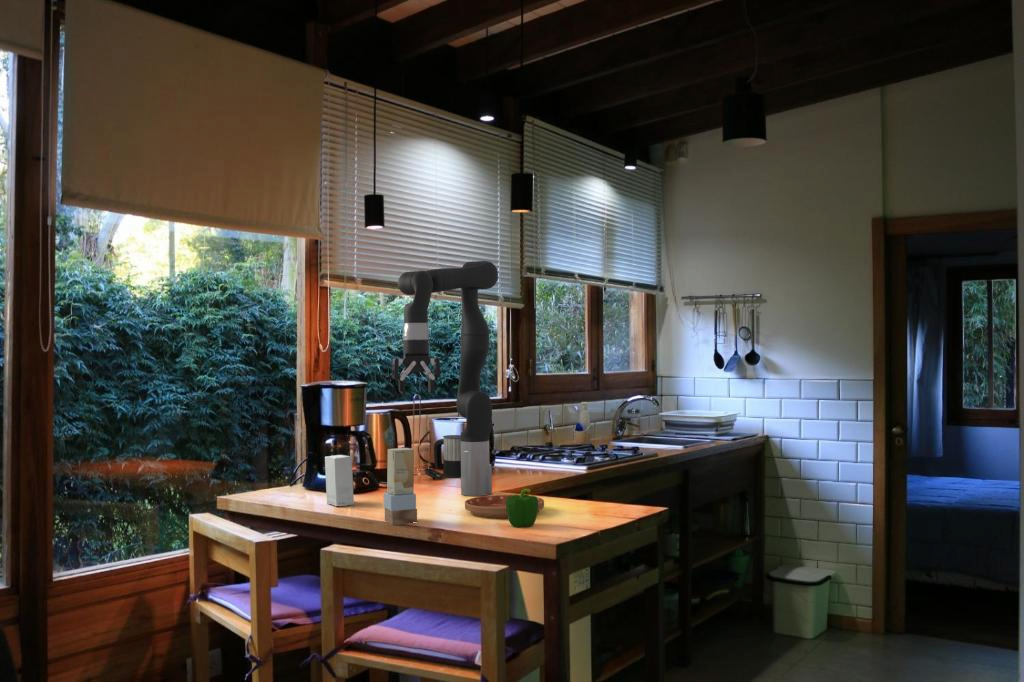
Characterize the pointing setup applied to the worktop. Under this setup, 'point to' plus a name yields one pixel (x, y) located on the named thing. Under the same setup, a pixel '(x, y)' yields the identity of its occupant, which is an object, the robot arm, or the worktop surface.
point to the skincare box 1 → (339, 480)
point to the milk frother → (447, 458)
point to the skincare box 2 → (400, 471)
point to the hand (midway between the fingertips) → (416, 393)
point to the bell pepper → (522, 509)
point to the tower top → (399, 501)
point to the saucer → (492, 506)
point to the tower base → (400, 516)
